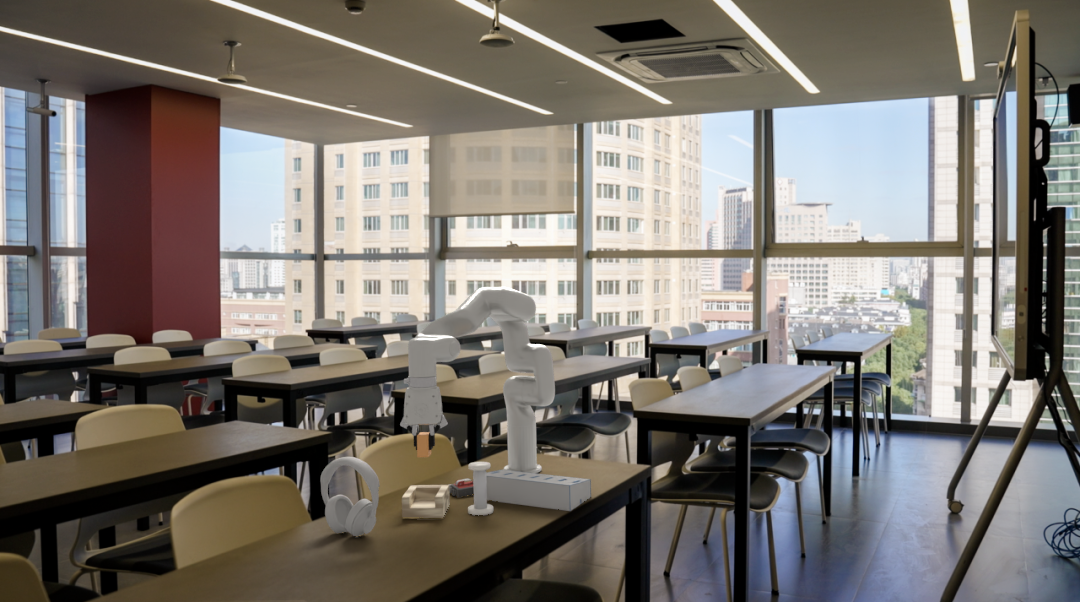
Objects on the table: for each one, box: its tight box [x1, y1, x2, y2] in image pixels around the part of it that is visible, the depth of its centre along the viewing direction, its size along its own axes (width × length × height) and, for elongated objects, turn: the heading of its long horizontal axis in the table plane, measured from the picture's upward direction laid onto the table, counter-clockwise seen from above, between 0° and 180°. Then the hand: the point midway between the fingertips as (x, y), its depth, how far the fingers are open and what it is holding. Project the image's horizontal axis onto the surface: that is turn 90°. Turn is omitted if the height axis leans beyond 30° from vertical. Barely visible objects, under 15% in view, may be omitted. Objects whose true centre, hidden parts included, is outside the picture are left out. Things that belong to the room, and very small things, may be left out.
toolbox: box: [447, 478, 474, 498], centre depth 233 cm, size 9×4×20 cm
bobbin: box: [467, 461, 494, 517], centre depth 214 cm, size 7×7×13 cm
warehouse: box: [486, 469, 592, 512], centre depth 226 cm, size 30×14×8 cm, turn 63°
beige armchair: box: [401, 484, 451, 519], centre depth 215 cm, size 12×11×6 cm
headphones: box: [319, 456, 380, 537], centre depth 197 cm, size 18×8×20 cm, turn 60°
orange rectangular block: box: [416, 431, 432, 458], centre depth 214 cm, size 5×3×6 cm, turn 178°
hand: (424, 448), depth 214 cm, fingers closed on orange rectangular block, 2 cm apart
